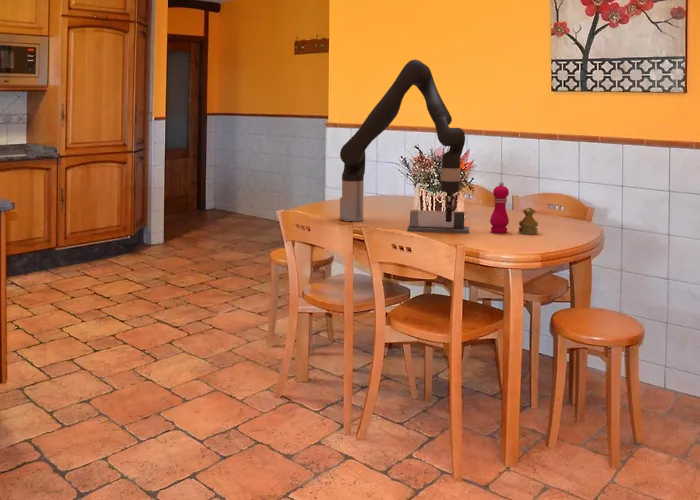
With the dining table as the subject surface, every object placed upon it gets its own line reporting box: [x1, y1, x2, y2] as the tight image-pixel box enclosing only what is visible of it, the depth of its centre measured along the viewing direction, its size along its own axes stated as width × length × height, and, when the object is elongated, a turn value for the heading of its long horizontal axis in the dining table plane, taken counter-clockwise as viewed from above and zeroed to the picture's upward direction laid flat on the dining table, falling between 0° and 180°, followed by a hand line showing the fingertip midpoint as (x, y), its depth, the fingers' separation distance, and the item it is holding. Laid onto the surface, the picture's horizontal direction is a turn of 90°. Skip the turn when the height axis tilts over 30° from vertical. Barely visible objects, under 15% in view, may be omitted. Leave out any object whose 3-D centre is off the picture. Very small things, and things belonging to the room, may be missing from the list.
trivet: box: [407, 223, 470, 235], centre depth 279 cm, size 24×9×1 cm, turn 80°
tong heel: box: [409, 209, 420, 227], centre depth 279 cm, size 3×5×6 cm, turn 170°
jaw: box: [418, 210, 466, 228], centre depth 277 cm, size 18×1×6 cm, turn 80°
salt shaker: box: [518, 207, 539, 236], centre depth 273 cm, size 7×7×10 cm
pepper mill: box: [489, 181, 510, 235], centre depth 274 cm, size 7×7×20 cm
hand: (448, 220), depth 277 cm, fingers open, 8 cm apart
